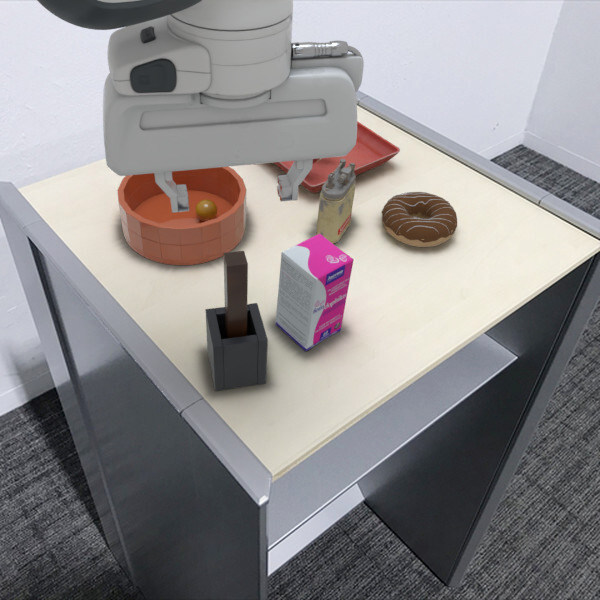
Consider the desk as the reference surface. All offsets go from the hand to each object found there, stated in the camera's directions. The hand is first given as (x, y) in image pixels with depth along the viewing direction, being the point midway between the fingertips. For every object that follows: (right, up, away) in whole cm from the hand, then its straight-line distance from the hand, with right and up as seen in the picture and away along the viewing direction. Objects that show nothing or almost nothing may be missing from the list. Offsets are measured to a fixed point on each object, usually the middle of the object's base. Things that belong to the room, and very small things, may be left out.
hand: (234, 202), depth 58 cm
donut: (+22, +1, +37) cm, 43 cm away
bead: (-7, +4, +33) cm, 34 cm away
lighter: (+10, +1, +35) cm, 37 cm away
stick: (-1, -16, +16) cm, 23 cm away
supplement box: (+7, -12, +21) cm, 25 cm away
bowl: (-10, +2, +34) cm, 35 cm away
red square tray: (+9, +14, +48) cm, 51 cm away
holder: (-1, -16, +16) cm, 23 cm away
